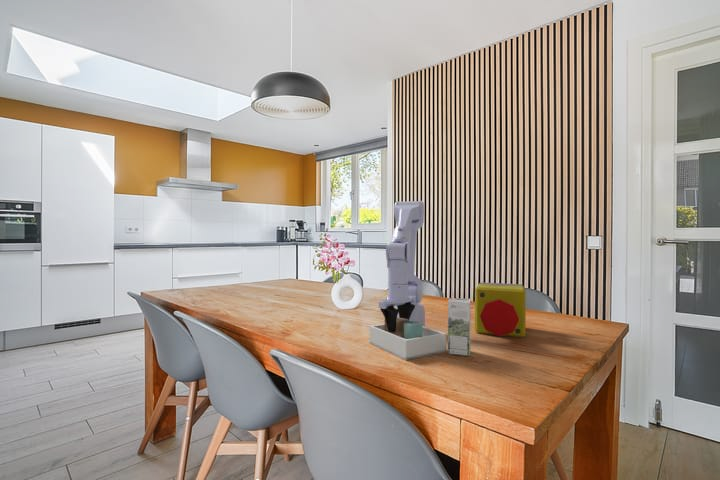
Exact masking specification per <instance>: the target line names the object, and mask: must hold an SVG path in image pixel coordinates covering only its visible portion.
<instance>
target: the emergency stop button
mask: <svg viewBox="0 0 720 480" xmlns="http://www.w3.org/2000/svg"><path fill="white" fill-rule="evenodd" d="M474 292H475V293H474V295H475V296H474V297H475V299H474V303H475V305H474V331H475V333H477V334H483V335H494V336H497V337H502V336H503V337H514V338H524V337H526V317H527V315H526V302H527V299H526V297H527V293H526V292H527V291H526V289H525V286H524V285H523V284H521V283H503V282H502V283H500V282H499V283H498V282H496V283H495V282H481V281H480V282H479V283H478V284H477V286H476V287H475V291H474Z"/></svg>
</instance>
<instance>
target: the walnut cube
mask: <svg viewBox="0 0 720 480" xmlns="http://www.w3.org/2000/svg"><path fill="white" fill-rule="evenodd" d="M408 321H409V319H404V318H399V317H397V320H396V329H395V332H389V331H388V327H387V323H386V320H385V319H384V324H385V331H386V332H389V333H391V334H394V335H397V336H399V337H402V338H404V323H405V322H408Z"/></svg>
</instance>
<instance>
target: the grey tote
mask: <svg viewBox="0 0 720 480" xmlns="http://www.w3.org/2000/svg"><path fill="white" fill-rule="evenodd" d="M368 332H369V334H368V336H369V344H371V345H373V346H375V347H377V348H379V349H381V350H383V351H385V352H387V353H389V354H392V355H393V356H396V357H398V358H400V359H402V360H404V361H409V360H414V359H420V358H425V357H429V356H434V355H438V354H443V353H447V333H445V332H441V331H439V330H437V329H436V330H435V329H432V328H430V327H427V326H425V327H424V326H422V337H418V338H412V339H404V338H402V337H399V336H397V335H394V334H391V333H389V332H386V331H385V323H382V324H375V325H374V324H373V325H369V330H368Z"/></svg>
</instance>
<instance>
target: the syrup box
mask: <svg viewBox="0 0 720 480" xmlns="http://www.w3.org/2000/svg"><path fill="white" fill-rule="evenodd" d="M471 300H472V299H471V298H457V297H456V298H455V297H449V298H448V301H447V354H448V355H450V356H451V355H452V356H459V357H461V356H462V357H471V356H470V355H471V316H472V315H471V312H472V311H471V309H472V306H471V305H472V304H471V303H472V301H471Z"/></svg>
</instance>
